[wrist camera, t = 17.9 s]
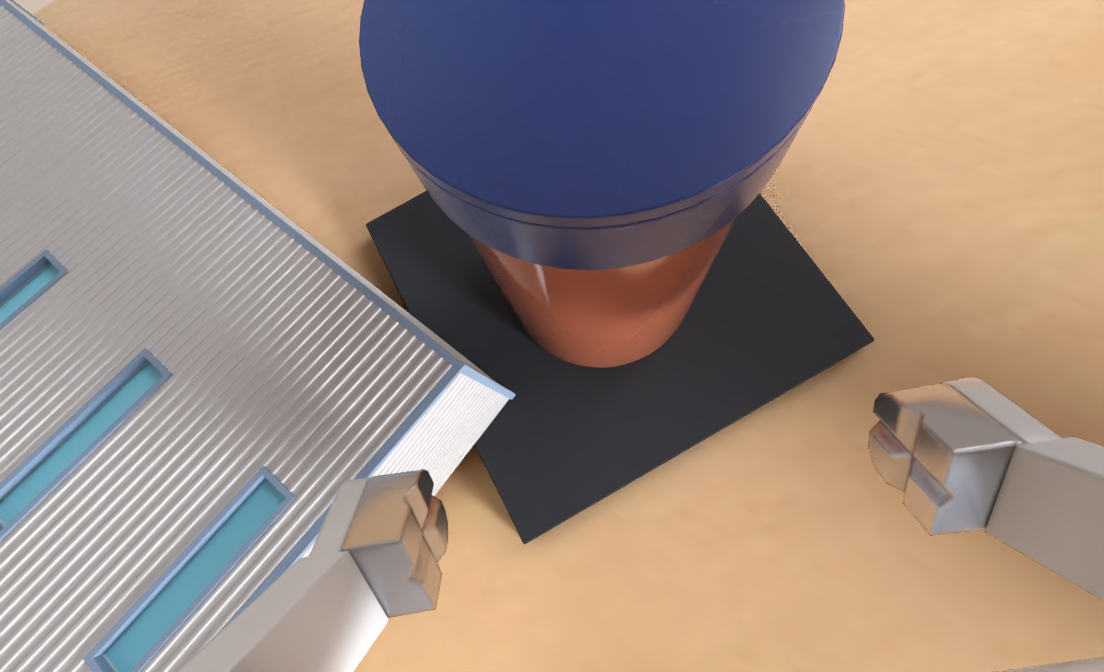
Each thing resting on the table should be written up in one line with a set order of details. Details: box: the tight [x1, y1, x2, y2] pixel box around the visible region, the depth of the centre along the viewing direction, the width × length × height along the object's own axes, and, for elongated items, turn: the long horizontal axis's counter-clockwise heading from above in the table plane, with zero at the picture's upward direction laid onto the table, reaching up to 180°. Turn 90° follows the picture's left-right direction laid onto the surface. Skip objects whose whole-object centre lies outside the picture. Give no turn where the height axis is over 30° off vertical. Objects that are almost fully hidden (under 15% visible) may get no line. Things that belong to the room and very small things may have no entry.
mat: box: [366, 191, 874, 544], centre depth 18 cm, size 13×13×1 cm
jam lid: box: [359, 0, 845, 270], centre depth 8 cm, size 7×7×2 cm
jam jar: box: [467, 217, 736, 368], centre depth 13 cm, size 6×6×11 cm
